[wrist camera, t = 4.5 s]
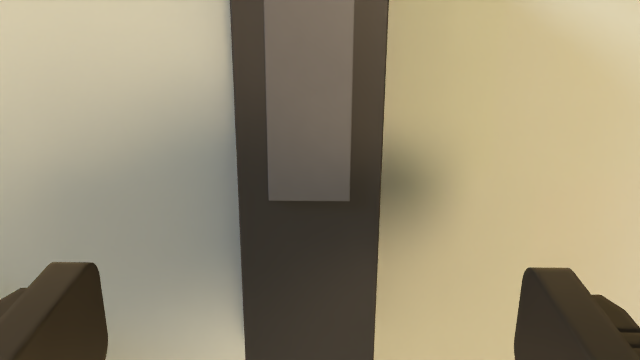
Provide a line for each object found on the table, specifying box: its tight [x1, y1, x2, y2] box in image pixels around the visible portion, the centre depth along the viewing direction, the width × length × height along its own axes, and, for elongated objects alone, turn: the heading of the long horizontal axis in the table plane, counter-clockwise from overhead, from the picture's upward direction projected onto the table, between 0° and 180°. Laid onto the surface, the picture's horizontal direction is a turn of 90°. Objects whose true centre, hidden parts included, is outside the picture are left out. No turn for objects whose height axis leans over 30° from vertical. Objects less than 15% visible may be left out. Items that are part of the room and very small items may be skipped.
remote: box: [230, 0, 389, 360], centre depth 21 cm, size 5×16×3 cm, turn 0°
